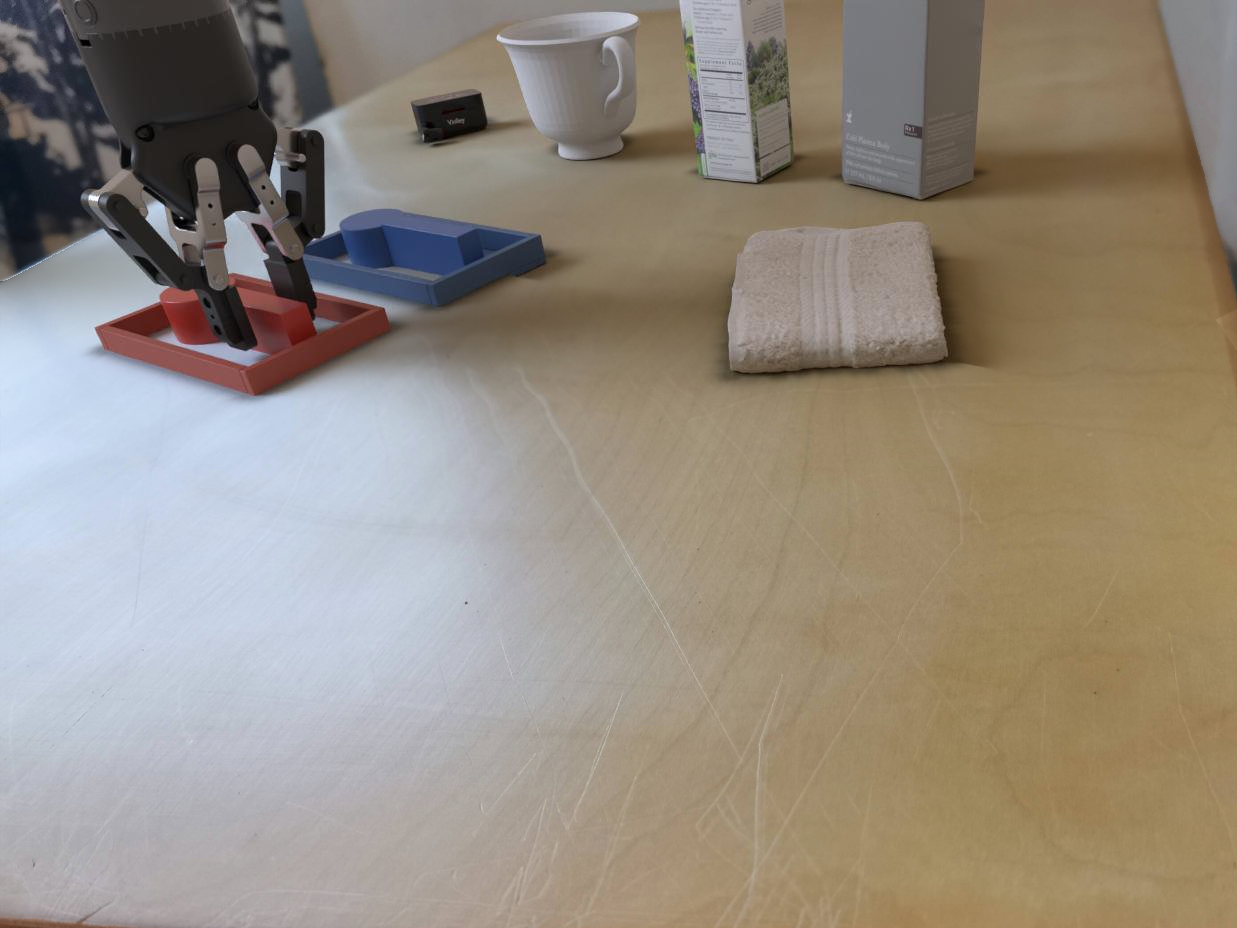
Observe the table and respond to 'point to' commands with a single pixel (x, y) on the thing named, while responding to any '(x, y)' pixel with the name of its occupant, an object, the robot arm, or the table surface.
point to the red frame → (353, 331)
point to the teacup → (577, 78)
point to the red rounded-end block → (268, 315)
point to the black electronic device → (449, 114)
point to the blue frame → (501, 257)
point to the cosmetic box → (910, 93)
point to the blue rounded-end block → (408, 242)
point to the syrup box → (738, 87)
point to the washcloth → (835, 299)
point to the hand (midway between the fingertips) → (272, 332)
